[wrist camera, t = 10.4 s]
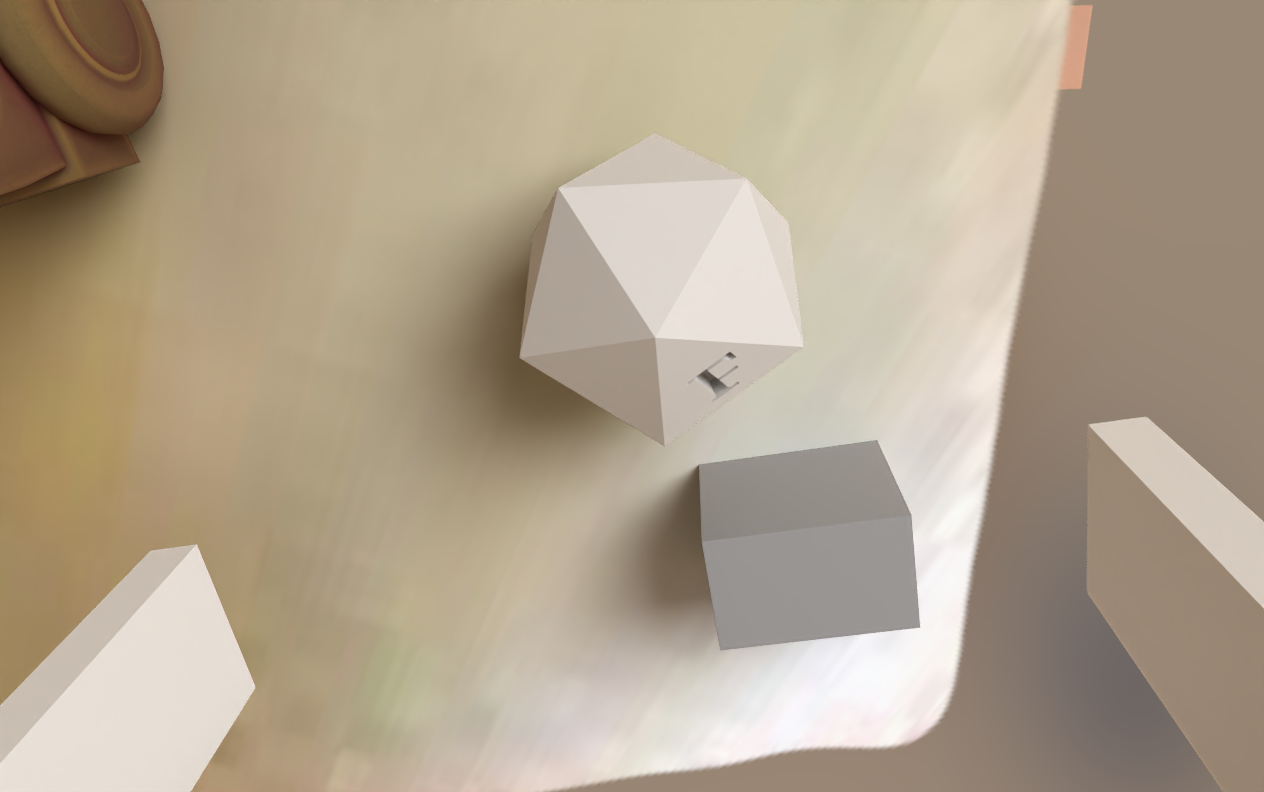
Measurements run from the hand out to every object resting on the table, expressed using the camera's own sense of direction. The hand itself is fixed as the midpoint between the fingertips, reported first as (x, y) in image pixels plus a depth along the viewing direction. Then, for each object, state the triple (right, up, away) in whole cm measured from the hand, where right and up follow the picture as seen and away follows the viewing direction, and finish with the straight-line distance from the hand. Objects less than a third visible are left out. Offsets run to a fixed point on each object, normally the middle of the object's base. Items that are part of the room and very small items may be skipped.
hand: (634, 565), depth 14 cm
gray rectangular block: (+6, -2, +24) cm, 25 cm away
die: (+1, +8, +20) cm, 22 cm away
